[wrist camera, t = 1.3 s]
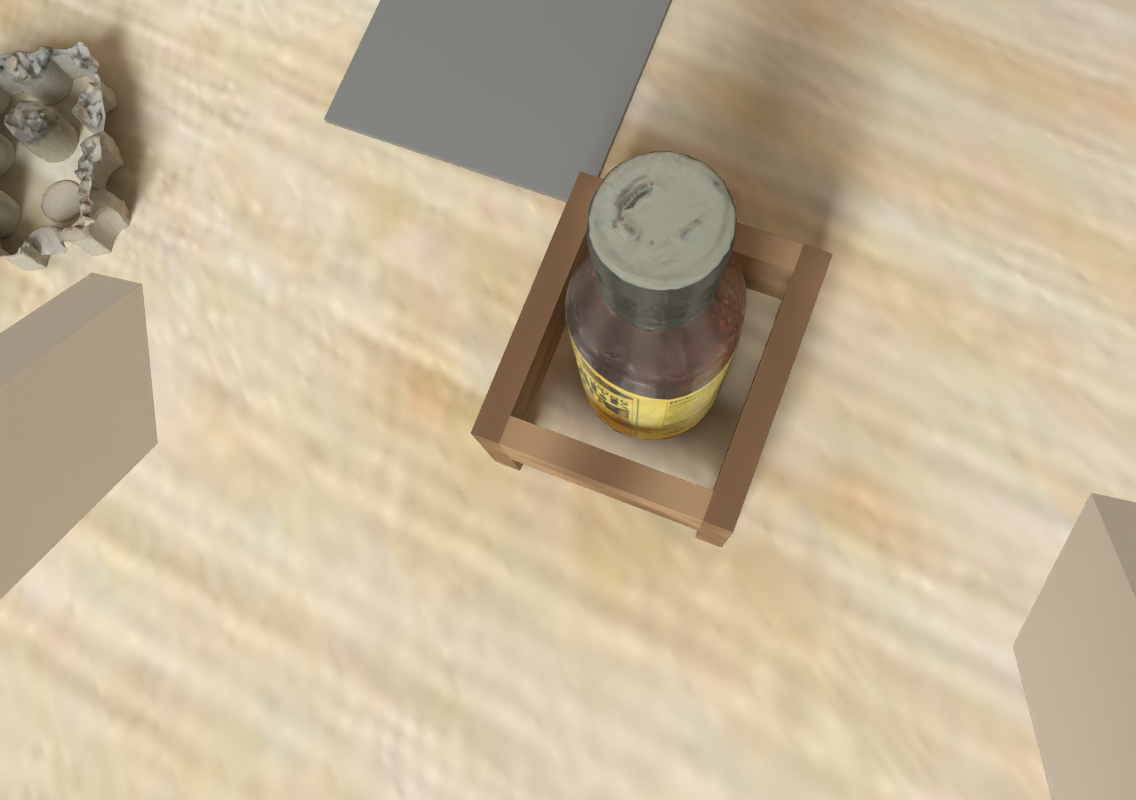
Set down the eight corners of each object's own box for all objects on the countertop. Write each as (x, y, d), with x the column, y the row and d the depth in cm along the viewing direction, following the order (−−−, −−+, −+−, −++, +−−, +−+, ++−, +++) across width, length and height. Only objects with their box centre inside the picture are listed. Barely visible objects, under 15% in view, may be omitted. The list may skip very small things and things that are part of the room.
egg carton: (138, 258, 50) (94, 225, 46) (-7, 284, 50) (-64, 254, 46) (127, 67, 53) (84, 21, 49) (-12, 94, 53) (-66, 50, 49)
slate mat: (686, -35, 51) (686, -39, 51) (585, 208, 48) (585, 205, 48) (434, -108, 53) (433, -112, 53) (325, 121, 51) (324, 118, 50)
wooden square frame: (808, 306, 46) (832, 254, 40) (721, 547, 44) (733, 532, 38) (589, 232, 48) (580, 171, 42) (495, 461, 46) (470, 433, 40)
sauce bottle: (568, 335, 47) (511, 125, 28) (698, 299, 47) (731, 64, 28) (605, 469, 45) (571, 345, 26) (739, 433, 45) (804, 281, 26)
